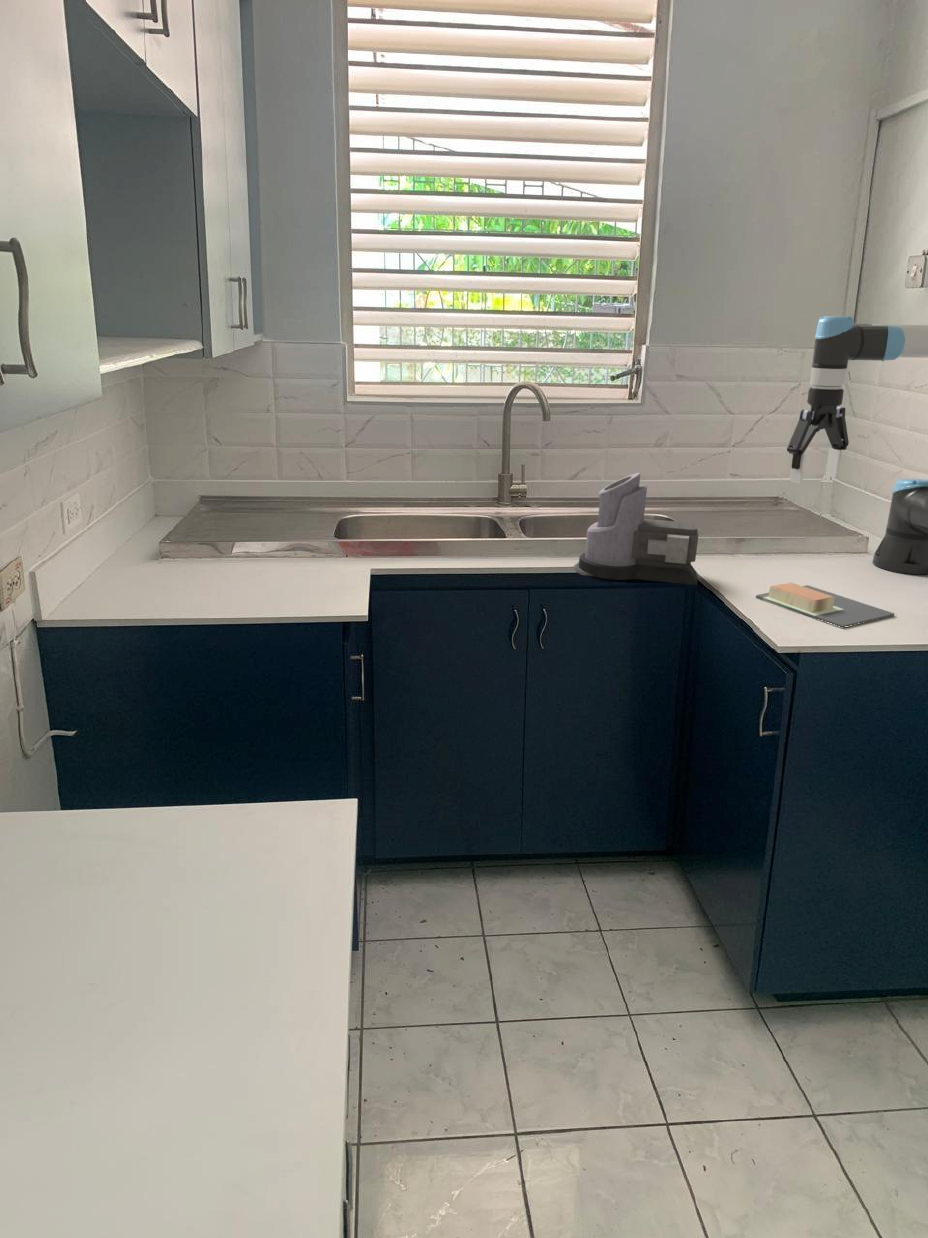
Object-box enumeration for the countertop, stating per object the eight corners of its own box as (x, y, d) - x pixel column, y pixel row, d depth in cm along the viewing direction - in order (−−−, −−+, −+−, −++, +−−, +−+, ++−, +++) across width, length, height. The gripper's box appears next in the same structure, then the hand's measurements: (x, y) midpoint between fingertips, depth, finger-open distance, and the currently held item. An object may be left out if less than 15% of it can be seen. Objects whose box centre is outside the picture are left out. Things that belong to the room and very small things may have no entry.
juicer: (570, 575, 224) (578, 474, 216) (576, 558, 239) (584, 463, 231) (697, 588, 219) (711, 484, 211) (696, 569, 234) (708, 472, 226)
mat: (807, 587, 222) (807, 585, 222) (894, 616, 204) (894, 613, 204) (755, 597, 213) (756, 595, 213) (842, 628, 195) (842, 625, 195)
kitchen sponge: (790, 582, 214) (835, 596, 205) (789, 593, 215) (832, 608, 206) (770, 586, 211) (814, 601, 201) (768, 597, 212) (812, 612, 202)
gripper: (844, 383, 222) (831, 472, 229) (778, 388, 208) (766, 482, 215) (873, 385, 216) (859, 476, 223) (807, 391, 203) (794, 487, 210)
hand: (813, 479), depth 219 cm, fingers open, 13 cm apart
